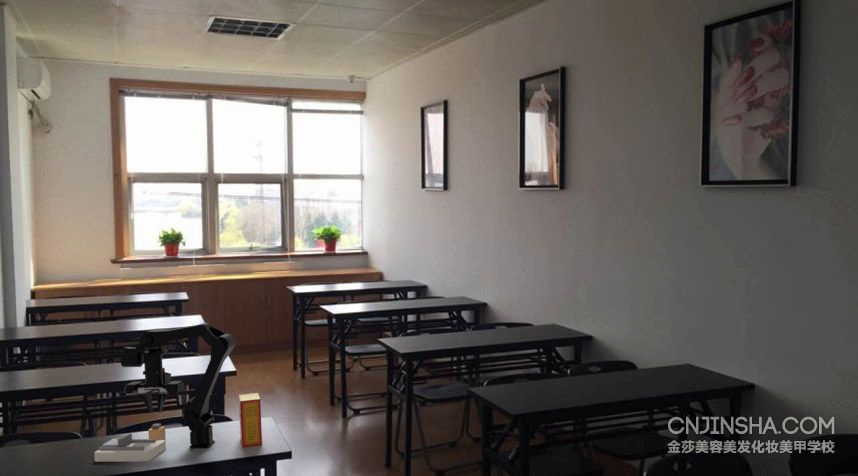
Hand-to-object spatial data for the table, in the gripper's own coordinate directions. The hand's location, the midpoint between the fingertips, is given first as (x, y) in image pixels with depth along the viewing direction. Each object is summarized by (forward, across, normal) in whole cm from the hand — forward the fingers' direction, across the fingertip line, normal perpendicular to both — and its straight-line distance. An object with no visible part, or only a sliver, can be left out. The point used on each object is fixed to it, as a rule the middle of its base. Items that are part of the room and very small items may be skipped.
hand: (155, 412), depth 241 cm
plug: (+12, 0, 0) cm, 12 cm away
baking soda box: (+12, -32, -3) cm, 34 cm away
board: (+12, +4, +10) cm, 16 cm away
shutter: (+8, +9, +10) cm, 15 cm away
